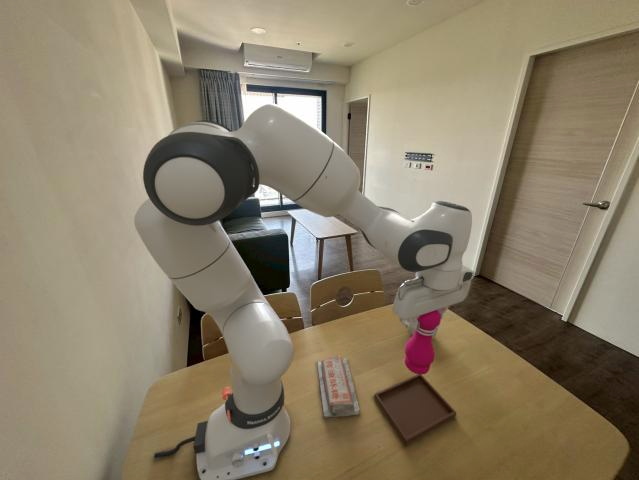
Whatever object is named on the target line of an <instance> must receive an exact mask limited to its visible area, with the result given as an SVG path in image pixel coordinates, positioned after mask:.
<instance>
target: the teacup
mask: <svg viewBox="0 0 639 480" xmlns="http://www.w3.org/2000/svg"><path fill="white" fill-rule="evenodd" d="M398 319H399V322H400V323H401V324H402V325H403V326H405V328H406V329H407V330H408V332H409V334H410V335H411V337H412V336H413V335H414V333H415V329H414V328H413V327H412V326H411V325H410V321H411V319H408V320H402V319H401V318H399V317H398ZM406 321H407V322H406ZM439 327H440V325H439V326H437V327H436V332H435V334H434V335H432V340H433V339H434V338H435V337H436V336H437V333H438V331H439Z"/></svg>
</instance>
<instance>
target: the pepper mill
mask: <svg viewBox="0 0 639 480" xmlns="http://www.w3.org/2000/svg"><path fill="white" fill-rule="evenodd" d="M417 319H418V320H419V321H420V322H421V324H420V327H418V328H416V329H415V333H414V335H413V336H412V335H411V337H410V338H409V339H408V340H407V342H406V344H405V345H404V354H405V356H404V365H405V367H406V368H407V369H408V370H409V371H410V372H411V373H413V374H415V375H418V374H420V375H422V376H423V375H425V374H427V373H429V371H430V368H431V365H432V363H433V362H434V361H435V355H436V353H435V348H434V345H433V341H432V340H433V339H432V335H434V334H435V332H436V327H437V326H439V327H440V324H441V320H442V319H441V316H440V313H439V311H438V310H435V311H432V312H429V313H426V314H423V315H420V316H419V318H417Z"/></svg>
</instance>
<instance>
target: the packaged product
mask: <svg viewBox="0 0 639 480" xmlns="http://www.w3.org/2000/svg"><path fill="white" fill-rule="evenodd" d="M317 373H318V379H319V385H320V396H321V403H322V404H321V405H322V410H323V418H324V419H330V418H339V417H348V416H358V415H360V410H361V408H360V406H359V402H358V398H357V394H356V389H355V386H354V381H353V378H352V374H351V371H350V366H349V363H348V358H347V357H344V358H343V356H342V355H333V356H330V357H325V358H324V359H322V360H320V361H319V360H318V361H317Z"/></svg>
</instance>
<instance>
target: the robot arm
mask: <svg viewBox="0 0 639 480" xmlns="http://www.w3.org/2000/svg"><path fill="white" fill-rule="evenodd" d="M360 171H361V170H360V168H359V167H358V165H356V163H355V162H354V160H353V159H352V158H351V157H350V155H349V154H348V153H347V152H346V151H345V150H344V149H343V148H342V147H341V146H340V145H339V144H337V142H335V141H334V140H333V139H331V138H330V137H329V136H328V135H327V134H326V133H324V132H323V131H322V130H320V129H319V128H318V127H316V126H315V125H313V124H312V123H311V122H309V121H308V120H306V119H304V118H303V117H301V116H300V115H298V114H296V113H295V112H294V111H292V110H289V109H288V108H286V107H284V106H282V105H280V104H277V103H269V104H268V103H267V104H263V105H261V106H260V107H258V108H257V109H255V110H254V111H253V112H251V113H250V114H249V116H248V117H247V118H246V119H245V121H244V123H243V124H242V125H241V126H240V127H239V128H238V129H237V130H234V131H233V130H231V129H230V128H229V127H227V126H226V125H224V124H222V123H220V122H217V121H213V120H208V119H207V120H196V121H192V122H188V123H184V124H182V125H180V126H177V127H175V128H174V129H173V130H172V131H171V132H170V133H169V134H168V135H167V136H164V137H163V138H161V139H160V140H158V142H156V143H155V144H154V145H153V147H152V148H151V149H150V151H149V153H148V154H147V157H146V159H145V161H144V165H143V170H142V180H143V186H144V189H145V192H146V195H147V196H148V198H147V199H145V201H144V202H143V203H142V204H140V206H139V207H138V208H137V210H136V212H135V214H134V220H133V221H134V222H133V224H134V228H135V229H136V231H137V233H138V235H139V237H140V239H141V241H142V243H143V244H144V247H145V248H146V250H147V251H148V253H149V254H150V255H151V257H152V259H153V260H154V261H155V263H156V264H157V266H158V267H159V268H160V269H161V271H162V272H163V273H164V274H165V275H166V277H168V279H169V280H170V281H171V282H172V283H173V285H174V286H175V287H176V289H177V290H179V292H180V293H181V294H182V295H183V296H184V297H185V298H186V300H187V301H188V302H189V303H190V304H191V305H192V306H193V308H194V309H195V310H197V311H200V312H204V313H205V314H207V315H208V316H209V317H210V318H211V319H212V320H213V321H214V323H215V324H216V325H217V328H218V330H219V331H220V334H221V335H222V338H223V340H224V343H225V346H226V349H227V352H228V356H229V358H230V364H231V367H230V370H229V379H230V385H231V387H229V386H226V387H224V388H222V390H221V395H222V397H221V398H222V400H224V401H225V402H224V403H223V404H222V405H220V406H219V407H218V408H217V409H215V410H213V412H211V414H210V416H209V418H208V420H205V421H202V422H198V423H197V425H196V432H195V435H194V436H192V437H188V438H185V439H183V440H182V441H180V442H178V444H177V445H176V446H175V447H174V448H172V449H169V450H163V451H159V452H158V451H157V452H155V453H154V455H153V458H155V459H156V458H161V457H167V456H171V455H173V454H175V453H177V452H179V450H180V448H181V447H182V446H185V445H187V444H190V443H192V442H193V450H194V453H195V455H196V456H195V457H196V459H195V460H196V469H197V475H198V477H199V479H200V480H240V479H245V478H248V477H251V476H256V475H260V474H263V473H267V472H270V471H273V470H274V469H275V468H276V465H277V462H278V460H279V459H278V458H279V455H280V453H281V451H282V450H283V448H284V447H285V446H286V443H287V442H288V440H289V436H290V433H291V419H290V416H289V413H288V411H287V410H286V408H285V399H286V398H285V387H284V384H283V381H282V377H283V376H284V375H285V374H286V373H287V371H288V370H289V368H290V367H291V366H292V364H293V361H294V358H295V348H294V344H293V341H292V338H291V336H290V334H289V331H288V329H287V327H286V325H285V324H284V323H283V321H282V319H281V318H280V317H279V316H278V314H277V312H276V311H275V310H274V309H273V307H272V306H271V304H270V302H268V300H267V299H266V297H265V295H264V294H263V292H262V291H261V289H260V288H259V286H258V284H257V283H256V281H255V279H254V277H253V275H252V274H251V271H250V270H249V268H248V267H247V265H246V263H245V262H244V260H243V258H242V257H241V254H239V252H238V250H237V248H236V247H235V246H234V245H235V244H233V242H232V240H231V239H230V237H229V236H228V234H227V232H226V231H225V229H224V227H223V226H222V223H221V222H220V221H221V220H222V219H224V218H225V217H227V216H228V215H230V214H231V213H232V212H234V210H236V209H237V208H238V207H239V206H240V205H241V204H243V203H244V202H245V201H246V200H248V199H249V198H250V197H252V196H253V195H254V194H256V193H257V191H259V187H260V186H266V187H268V188H271V189H272V190H275V191H276V192H277V193H278V194H281V195H282V196H283V197H285V198H286V199H288V200H289V201H291V202H293V203H294V204H296V205H297V206H299V207H301V208H302V209H305V210H307V211H309V212H311V213H313V214H316V215H318V216H321V217H324V218H332V217H336V216H338V215H339V216H341V217H342V218H343V219H345V220H347V221H348V222H349V223H351V224H353V225H354V226H355V227H357V228H358V229H359V231H360V232H361V234H362V236H363V239H364V240H365V242H366V243H367V244H368V245H369V246H370V247H372V248H373V249H375V250H376V251H379V252H380V253H381V254H382V255H384V256H385V257H386V258H387V259H389V260H390V261H392V262H393V263H394V264H395V265H397V266H398V267H400V268H401V269H403V270H404V271H407V272H410V273H415V278H412V279H407V280H405V281H404V283H402V284H401V285H400V286H399V287H398V289H397V291H396V294H395V297H394V301H393V305H392V311H393V313H394V314H395V315H396V316H397V317H398V319H399V318H401V319H402V320H403V321H407V320H408V319H411V321H410V325H411V326H412V327H413V328H414V329H416V328H418V327H420V324H421V322H420V321H419V320H418V319H417V318H419V316H420V315H423V314H426V313H429V312H432V311H435V310H438V311H439V313H440V316H441V320H443V318H444V314H445V313H446V312H447V311H448V309H449V307H450V306H453V305H456V304H459V303H462V302H464V300H466V298H467V297H468V294H469V292H470V288H471V284H472V280H473V279H474V277H475V273H476V272H475V271H474V270H472V269H471V268H469V267H467V266H465V265H464V264H463V256H464V254H465V252H466V251H467V249H468V246H469V243H470V237H471V233H472V225H473V214H472V211H471V209H469V208H468V207H466V206H463V205H460V204H457V203H452V202H448V201H442V200H437V201H433V202H432V203H431V205H430V208H428V210H426V211H425V212H423V213H422V214H421V215H419V216H416V217H415V218H411V217H410V216H409V217H408V216H406V215H404V214H402V213H400V211H397V210H395V209H394V208H390V207H385V206H380V205H379V206H378V205H376V204H375V202H373V201H372V200H370V199H369V198H368V197H367V196H366V195H364V194H363V193H362V192H361V191H360V190H359V189H360V186H361V172H360ZM231 392H232V393H231ZM264 464H265V465H264Z"/></svg>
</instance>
